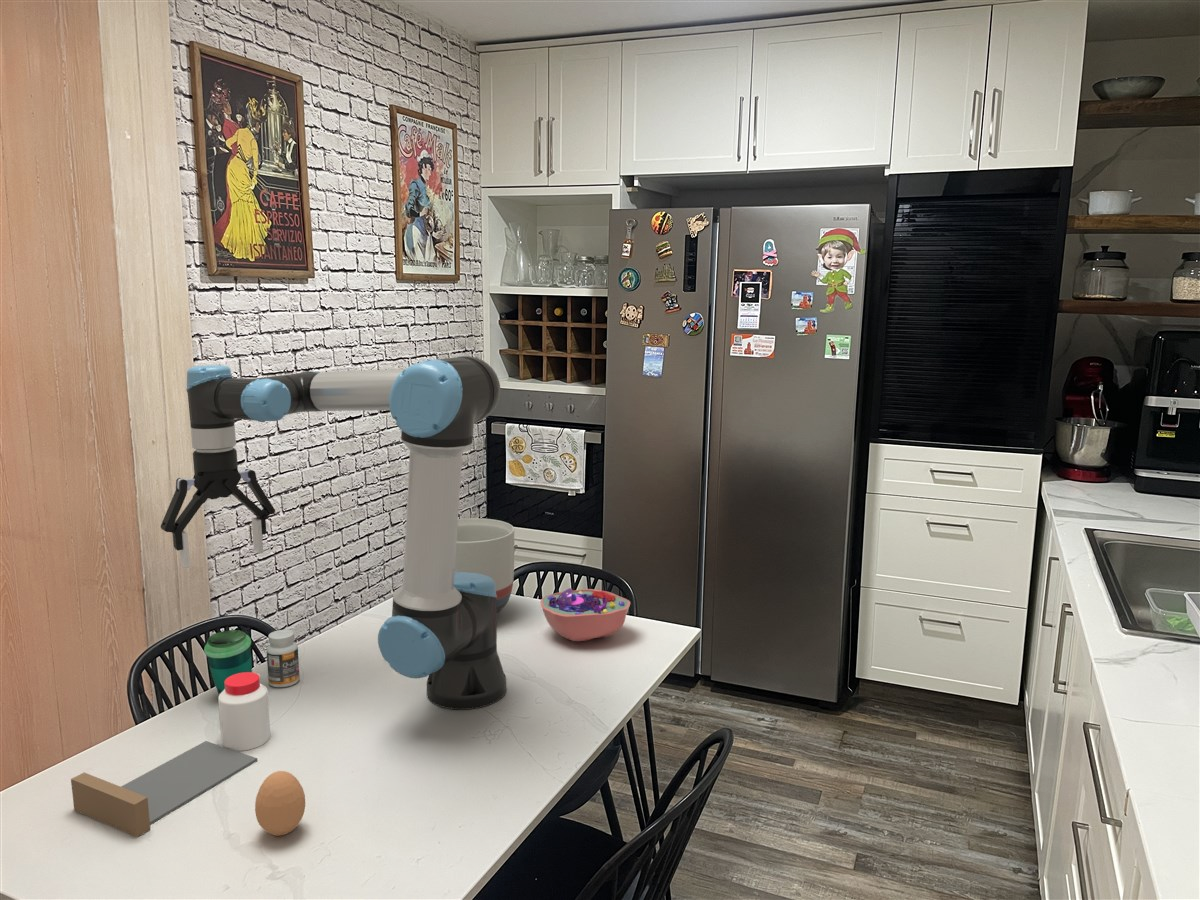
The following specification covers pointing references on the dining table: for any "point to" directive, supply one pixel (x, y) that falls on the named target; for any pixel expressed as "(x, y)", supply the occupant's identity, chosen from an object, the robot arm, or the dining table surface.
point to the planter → (487, 553)
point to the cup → (228, 655)
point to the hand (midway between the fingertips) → (223, 558)
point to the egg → (280, 803)
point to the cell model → (585, 613)
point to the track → (156, 788)
